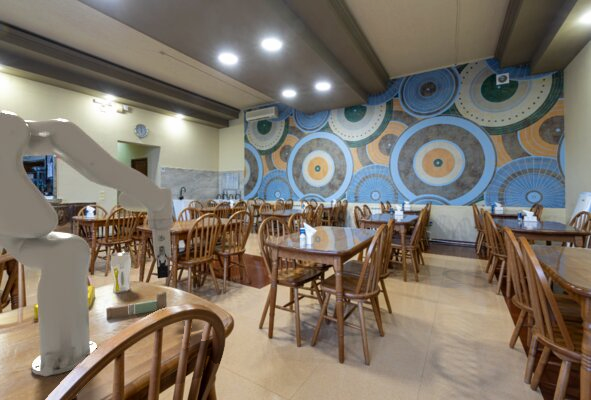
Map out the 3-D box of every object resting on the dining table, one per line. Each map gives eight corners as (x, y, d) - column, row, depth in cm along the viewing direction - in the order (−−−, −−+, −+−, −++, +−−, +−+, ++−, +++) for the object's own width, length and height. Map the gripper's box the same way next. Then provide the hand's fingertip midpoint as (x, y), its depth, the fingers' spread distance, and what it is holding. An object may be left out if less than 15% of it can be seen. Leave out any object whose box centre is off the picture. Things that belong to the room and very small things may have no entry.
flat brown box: (172, 317, 92) (172, 306, 92) (102, 330, 83) (102, 318, 83) (169, 296, 109) (169, 286, 109) (111, 305, 100) (110, 295, 100)
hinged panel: (134, 315, 92) (134, 298, 91) (135, 311, 94) (134, 295, 94) (166, 309, 96) (166, 293, 96) (166, 306, 99) (166, 290, 98)
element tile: (90, 311, 97) (89, 297, 96) (32, 321, 89) (31, 306, 89) (95, 295, 110) (95, 283, 109) (45, 303, 102) (44, 290, 102)
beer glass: (107, 291, 112) (106, 255, 112) (123, 286, 119) (122, 251, 118) (119, 294, 110) (118, 256, 109) (135, 288, 116) (134, 252, 115)
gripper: (174, 227, 89) (176, 279, 91) (171, 219, 104) (172, 264, 106) (147, 229, 86) (150, 283, 87) (148, 221, 101) (150, 267, 103)
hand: (162, 273), depth 97 cm, fingers open, 9 cm apart
